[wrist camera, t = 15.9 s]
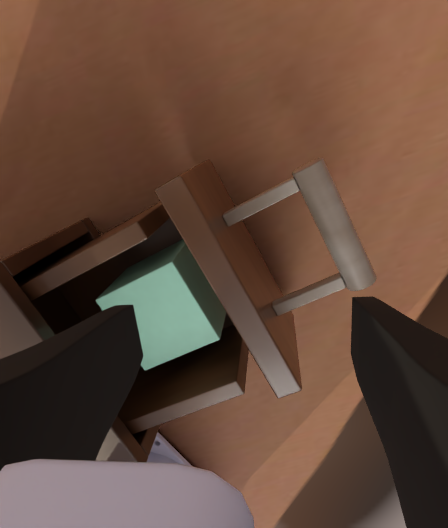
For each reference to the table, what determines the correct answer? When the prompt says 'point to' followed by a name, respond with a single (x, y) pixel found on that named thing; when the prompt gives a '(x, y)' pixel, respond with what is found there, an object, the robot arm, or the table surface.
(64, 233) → the cabinet
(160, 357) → the note cube
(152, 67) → the table surface
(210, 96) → the table surface
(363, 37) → the table surface
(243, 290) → the drawer
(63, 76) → the table surface
